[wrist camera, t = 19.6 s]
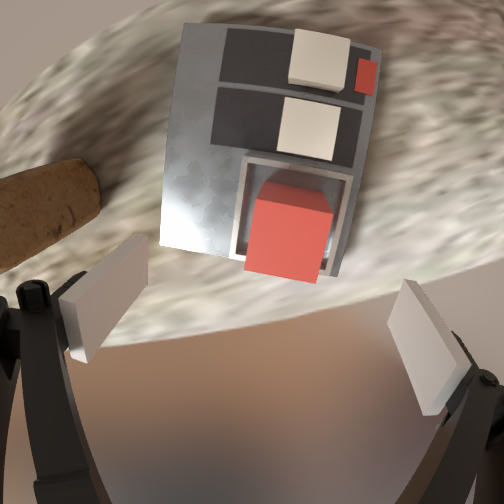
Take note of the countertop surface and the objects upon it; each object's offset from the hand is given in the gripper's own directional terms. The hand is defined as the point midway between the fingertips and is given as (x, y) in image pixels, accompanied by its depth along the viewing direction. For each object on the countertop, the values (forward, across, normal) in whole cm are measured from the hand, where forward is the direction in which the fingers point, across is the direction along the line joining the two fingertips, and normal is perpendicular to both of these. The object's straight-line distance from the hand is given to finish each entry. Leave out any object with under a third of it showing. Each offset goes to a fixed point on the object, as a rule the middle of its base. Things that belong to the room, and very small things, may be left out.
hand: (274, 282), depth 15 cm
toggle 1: (+12, +1, +13) cm, 18 cm away
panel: (+16, -2, +6) cm, 17 cm away
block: (+17, -24, -2) cm, 29 cm away
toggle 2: (+12, +1, +8) cm, 14 cm away
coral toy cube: (+13, +1, 0) cm, 13 cm away
